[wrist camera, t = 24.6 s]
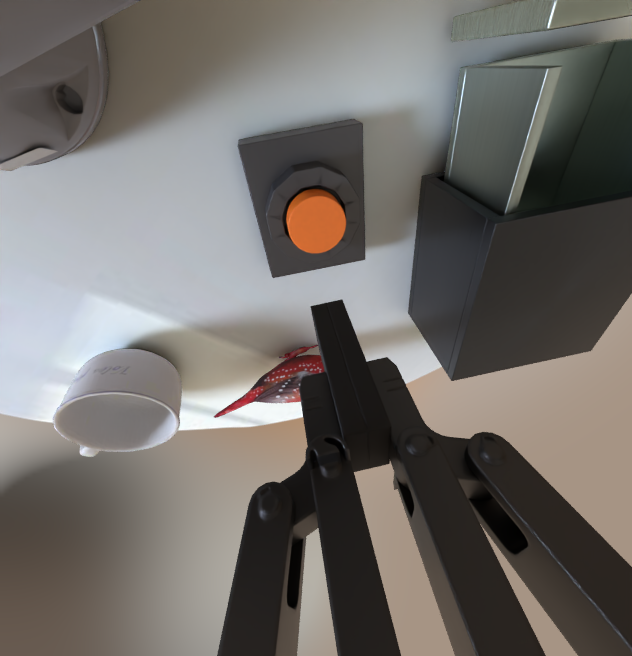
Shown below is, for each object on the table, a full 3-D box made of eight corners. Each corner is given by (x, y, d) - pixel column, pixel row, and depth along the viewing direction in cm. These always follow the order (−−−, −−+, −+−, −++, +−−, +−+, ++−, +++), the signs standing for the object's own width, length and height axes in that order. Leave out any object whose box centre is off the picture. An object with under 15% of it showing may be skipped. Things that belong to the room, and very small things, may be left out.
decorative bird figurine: (350, 340, 39) (374, 405, 31) (223, 382, 40) (217, 455, 32) (345, 324, 37) (369, 390, 29) (212, 369, 38) (202, 443, 31)
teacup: (131, 318, 31) (103, 378, 25) (208, 370, 38) (200, 427, 32) (47, 378, 35) (5, 443, 29) (132, 416, 41) (112, 475, 35)
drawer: (474, -151, 15) (643, -315, 9) (712, -187, 16) (1044, -368, 9) (426, 231, 29) (478, 280, 22) (554, 206, 30) (642, 246, 23)
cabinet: (421, 176, 27) (495, 223, 19) (575, 146, 27) (712, 180, 19) (407, 313, 37) (451, 381, 29) (518, 290, 38) (591, 351, 30)
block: (238, 139, 23) (236, 150, 20) (354, 118, 23) (370, 126, 20) (271, 266, 30) (273, 288, 27) (359, 249, 30) (371, 269, 27)
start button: (280, 194, 22) (282, 202, 21) (338, 183, 22) (344, 190, 21) (291, 248, 25) (294, 258, 24) (343, 238, 25) (348, 247, 24)
